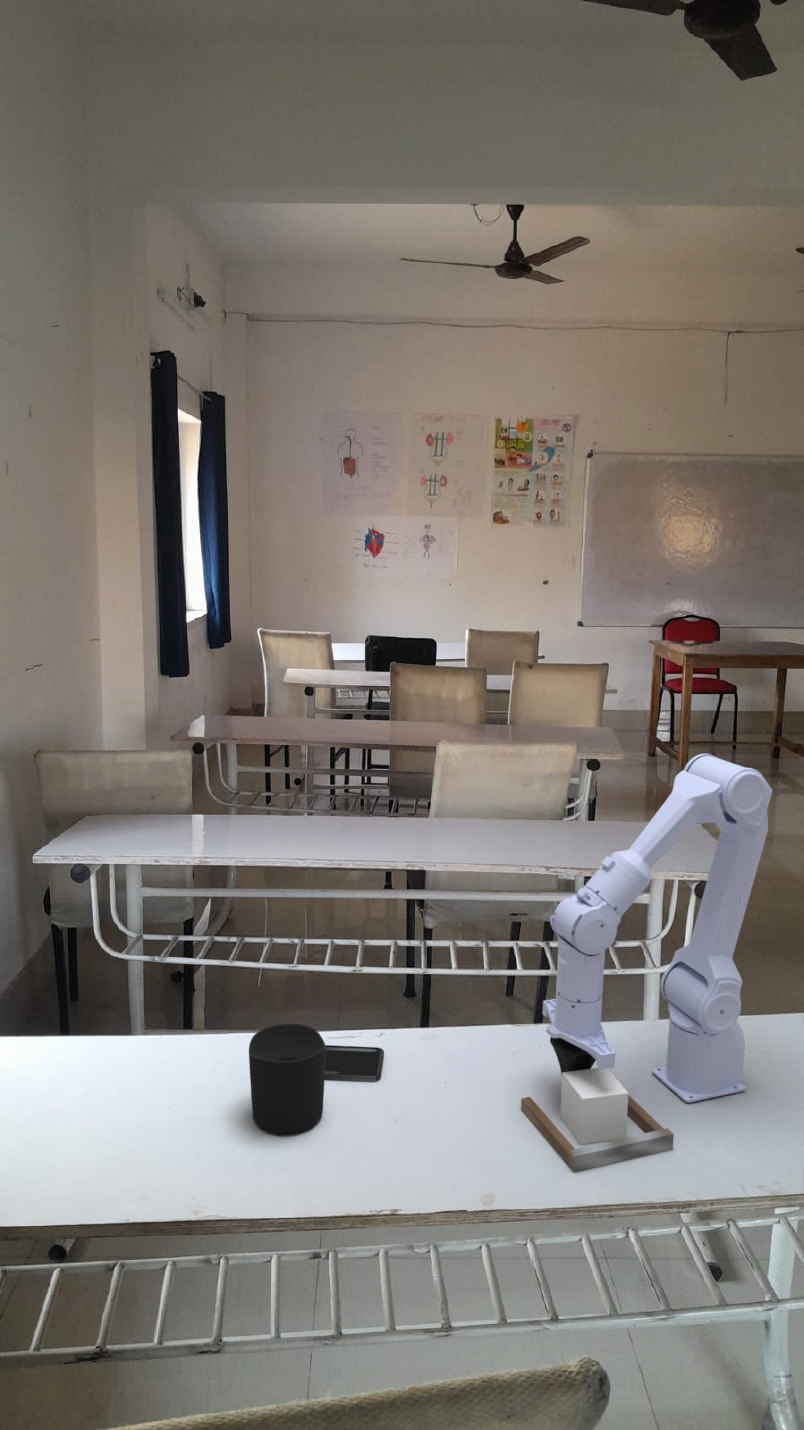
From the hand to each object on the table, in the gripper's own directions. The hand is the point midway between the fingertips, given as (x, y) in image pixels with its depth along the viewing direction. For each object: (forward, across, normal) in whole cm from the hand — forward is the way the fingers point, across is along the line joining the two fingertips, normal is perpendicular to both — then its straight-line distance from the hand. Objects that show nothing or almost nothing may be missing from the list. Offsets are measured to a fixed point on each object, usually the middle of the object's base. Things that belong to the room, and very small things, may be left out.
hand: (573, 1092), depth 123 cm
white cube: (+2, +5, 0) cm, 5 cm away
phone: (+3, -20, -27) cm, 33 cm away
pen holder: (+2, -9, -35) cm, 36 cm away
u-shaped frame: (+2, +4, 0) cm, 5 cm away
